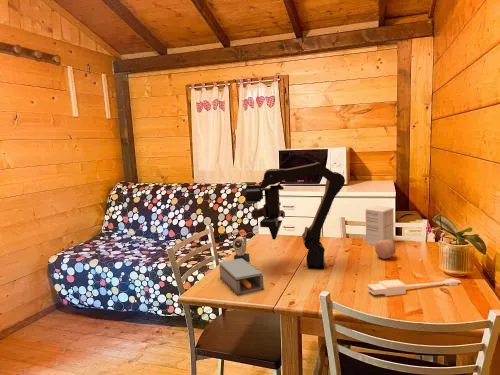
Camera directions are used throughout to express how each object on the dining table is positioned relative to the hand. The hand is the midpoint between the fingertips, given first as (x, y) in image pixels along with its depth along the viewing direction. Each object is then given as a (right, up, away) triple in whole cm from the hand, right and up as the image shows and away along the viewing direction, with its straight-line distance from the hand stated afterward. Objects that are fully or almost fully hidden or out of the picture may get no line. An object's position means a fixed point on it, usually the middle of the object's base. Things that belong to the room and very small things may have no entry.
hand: (274, 239), depth 144 cm
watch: (-13, -12, +11) cm, 21 cm away
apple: (+47, -9, +5) cm, 48 cm away
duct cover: (-14, -9, -13) cm, 21 cm away
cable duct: (-13, -15, -12) cm, 23 cm away
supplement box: (+52, -6, +26) cm, 58 cm away
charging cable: (+45, -14, -25) cm, 53 cm away
